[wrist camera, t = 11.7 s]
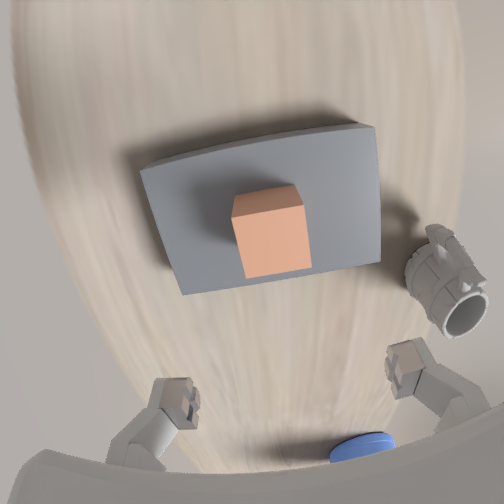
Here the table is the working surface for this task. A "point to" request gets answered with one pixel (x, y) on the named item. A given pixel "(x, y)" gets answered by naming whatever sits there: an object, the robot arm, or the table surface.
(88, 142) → the table surface
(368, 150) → the stand
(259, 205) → the cube
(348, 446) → the water jug
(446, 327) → the mug
